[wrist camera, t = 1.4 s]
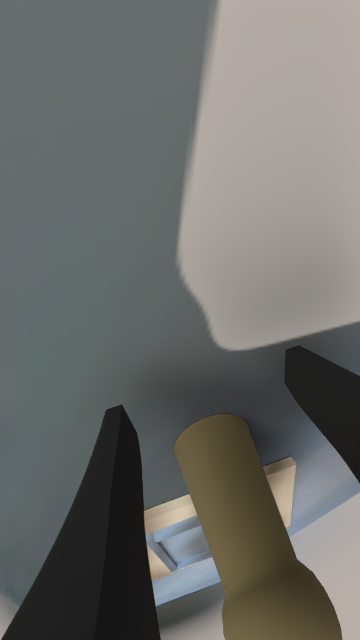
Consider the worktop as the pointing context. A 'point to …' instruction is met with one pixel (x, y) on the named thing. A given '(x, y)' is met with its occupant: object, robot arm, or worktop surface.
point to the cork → (250, 538)
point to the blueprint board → (185, 529)
